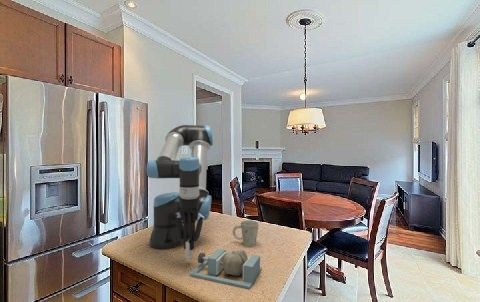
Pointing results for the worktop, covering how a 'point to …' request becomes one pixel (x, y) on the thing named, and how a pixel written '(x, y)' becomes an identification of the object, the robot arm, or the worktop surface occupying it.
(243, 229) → the mug
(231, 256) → the garlic bulb
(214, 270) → the jaw
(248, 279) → the vise
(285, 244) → the worktop surface
